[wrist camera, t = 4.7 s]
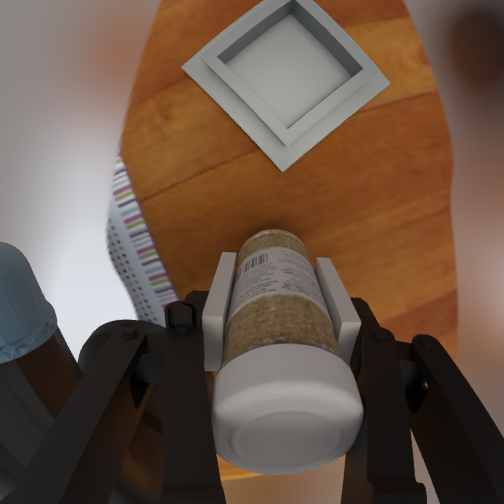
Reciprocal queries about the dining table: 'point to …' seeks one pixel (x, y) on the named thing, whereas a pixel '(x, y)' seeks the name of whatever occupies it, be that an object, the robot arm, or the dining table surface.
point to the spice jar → (281, 366)
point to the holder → (286, 76)
